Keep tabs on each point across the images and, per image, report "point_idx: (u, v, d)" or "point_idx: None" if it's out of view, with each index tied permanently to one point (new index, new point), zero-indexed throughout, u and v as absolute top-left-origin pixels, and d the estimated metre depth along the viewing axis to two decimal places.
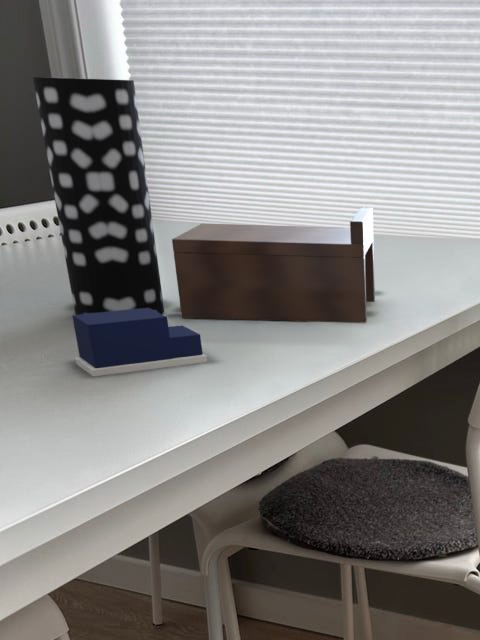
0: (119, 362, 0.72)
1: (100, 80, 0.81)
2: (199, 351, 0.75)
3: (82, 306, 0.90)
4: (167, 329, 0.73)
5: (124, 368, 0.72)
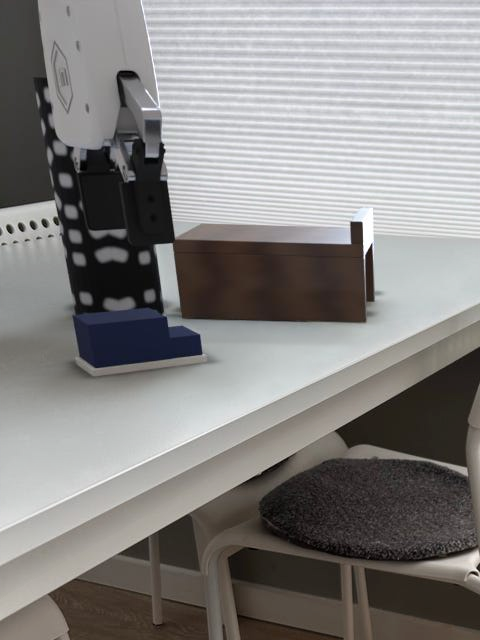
0: (119, 362, 0.72)
1: None
2: (199, 351, 0.75)
3: (82, 306, 0.90)
4: (167, 329, 0.73)
5: (124, 368, 0.72)
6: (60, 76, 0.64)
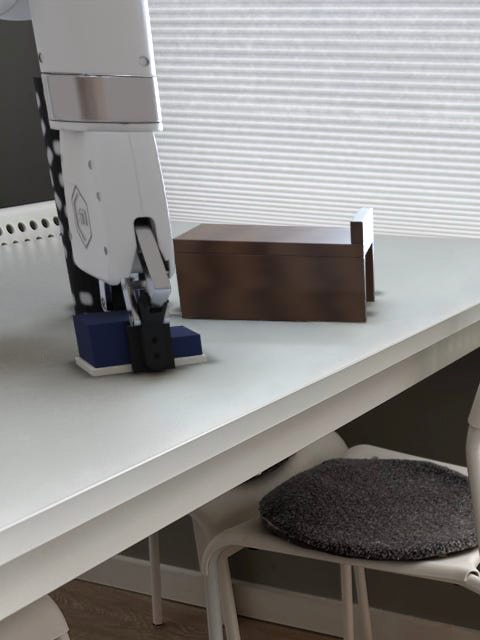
0: (119, 362, 0.72)
1: None
2: (199, 351, 0.75)
3: (82, 306, 0.90)
4: None
5: (124, 368, 0.72)
6: (80, 215, 0.68)
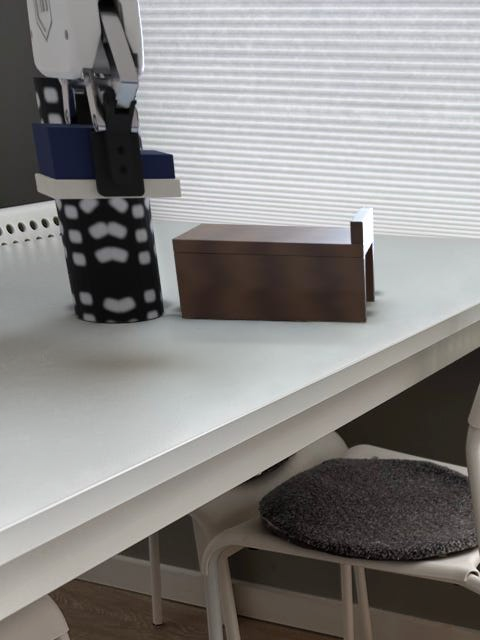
0: (82, 175, 0.66)
1: None
2: (171, 174, 0.69)
3: (82, 306, 0.90)
4: None
5: (88, 183, 0.66)
6: (39, 1, 0.62)
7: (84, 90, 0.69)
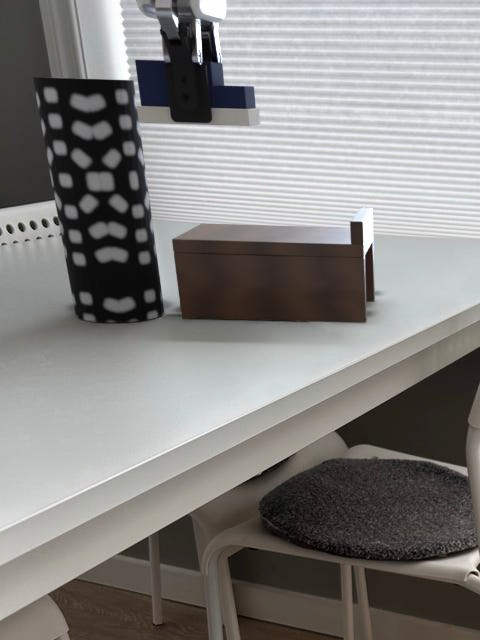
0: (163, 103, 0.76)
1: (100, 80, 0.81)
2: (242, 104, 0.77)
3: (82, 306, 0.90)
4: (210, 75, 0.76)
5: (166, 109, 0.77)
6: None
7: (209, 34, 0.79)
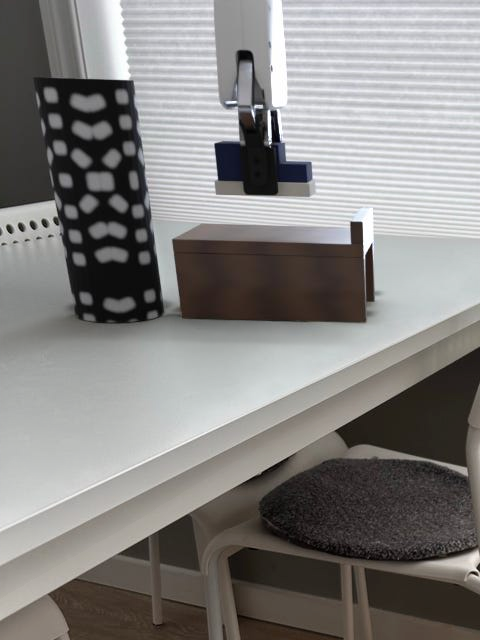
0: (237, 178, 0.90)
1: (100, 80, 0.81)
2: (304, 179, 0.90)
3: (82, 306, 0.90)
4: (277, 155, 0.89)
5: (239, 184, 0.90)
6: None
7: (272, 117, 0.93)
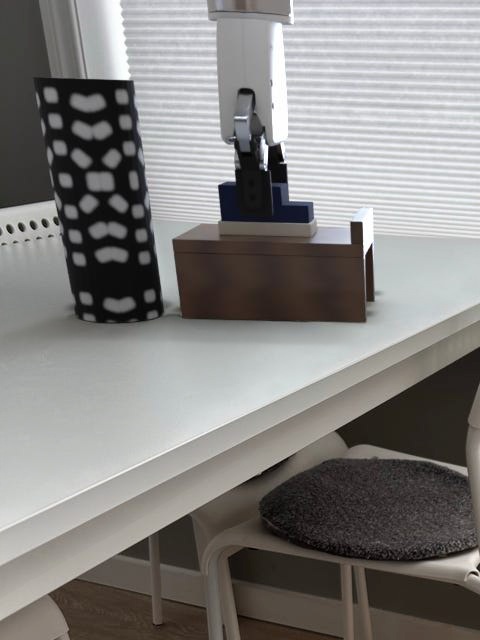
0: (240, 219, 0.92)
1: (100, 80, 0.81)
2: (306, 220, 0.92)
3: (82, 306, 0.90)
4: (280, 197, 0.91)
5: (242, 224, 0.92)
6: None
7: None
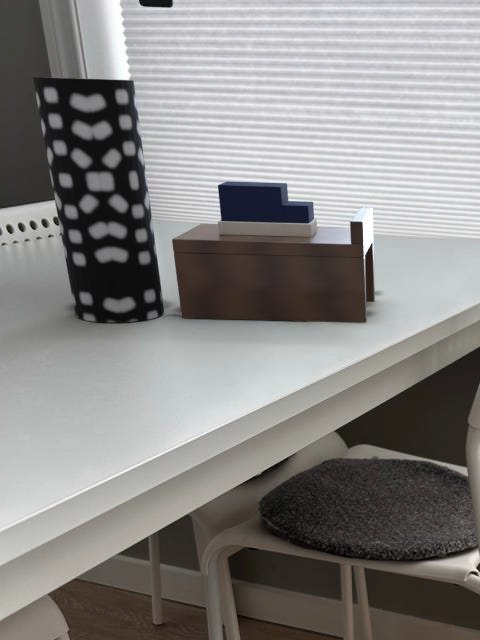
0: (240, 219, 0.92)
1: (100, 80, 0.81)
2: (306, 220, 0.92)
3: (82, 306, 0.90)
4: (280, 197, 0.91)
5: (242, 224, 0.92)
6: None
7: None
